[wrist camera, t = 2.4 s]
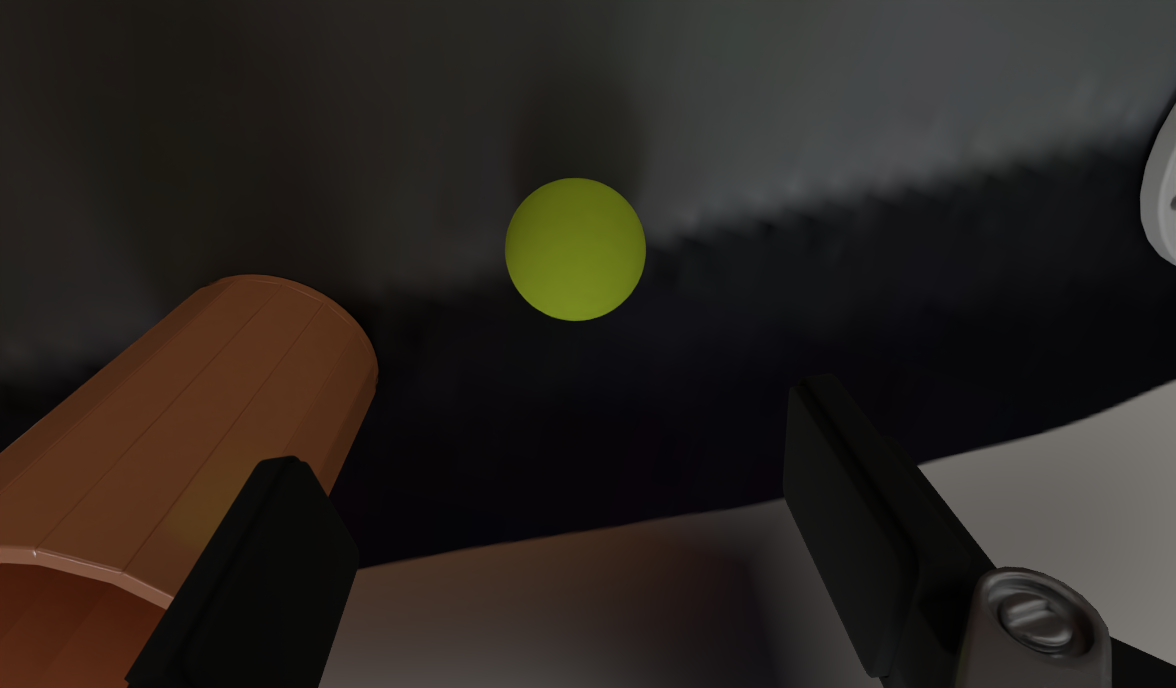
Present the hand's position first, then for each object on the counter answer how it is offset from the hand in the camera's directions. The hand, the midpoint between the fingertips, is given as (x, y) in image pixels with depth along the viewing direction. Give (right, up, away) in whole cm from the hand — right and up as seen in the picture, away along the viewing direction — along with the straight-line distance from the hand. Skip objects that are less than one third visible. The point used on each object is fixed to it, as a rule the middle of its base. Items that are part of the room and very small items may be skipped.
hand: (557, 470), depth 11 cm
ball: (0, +6, +9) cm, 11 cm away
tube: (-13, +2, +14) cm, 19 cm away
